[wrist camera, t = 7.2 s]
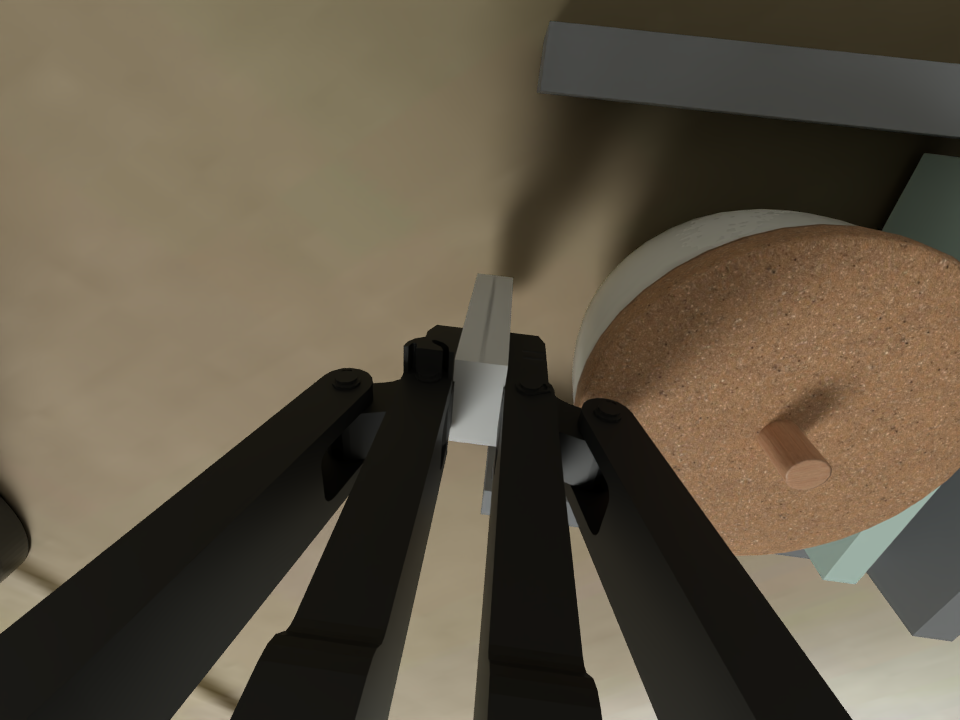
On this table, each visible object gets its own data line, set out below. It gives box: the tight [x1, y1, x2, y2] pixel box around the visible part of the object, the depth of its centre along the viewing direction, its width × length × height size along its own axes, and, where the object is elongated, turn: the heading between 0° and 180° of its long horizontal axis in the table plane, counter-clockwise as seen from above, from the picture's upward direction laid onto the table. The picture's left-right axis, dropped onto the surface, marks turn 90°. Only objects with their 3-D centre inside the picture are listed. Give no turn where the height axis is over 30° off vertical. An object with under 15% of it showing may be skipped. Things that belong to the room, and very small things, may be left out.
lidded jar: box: [572, 209, 960, 555], centre depth 15 cm, size 11×11×9 cm
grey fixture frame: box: [481, 21, 960, 641], centre depth 16 cm, size 18×18×7 cm
